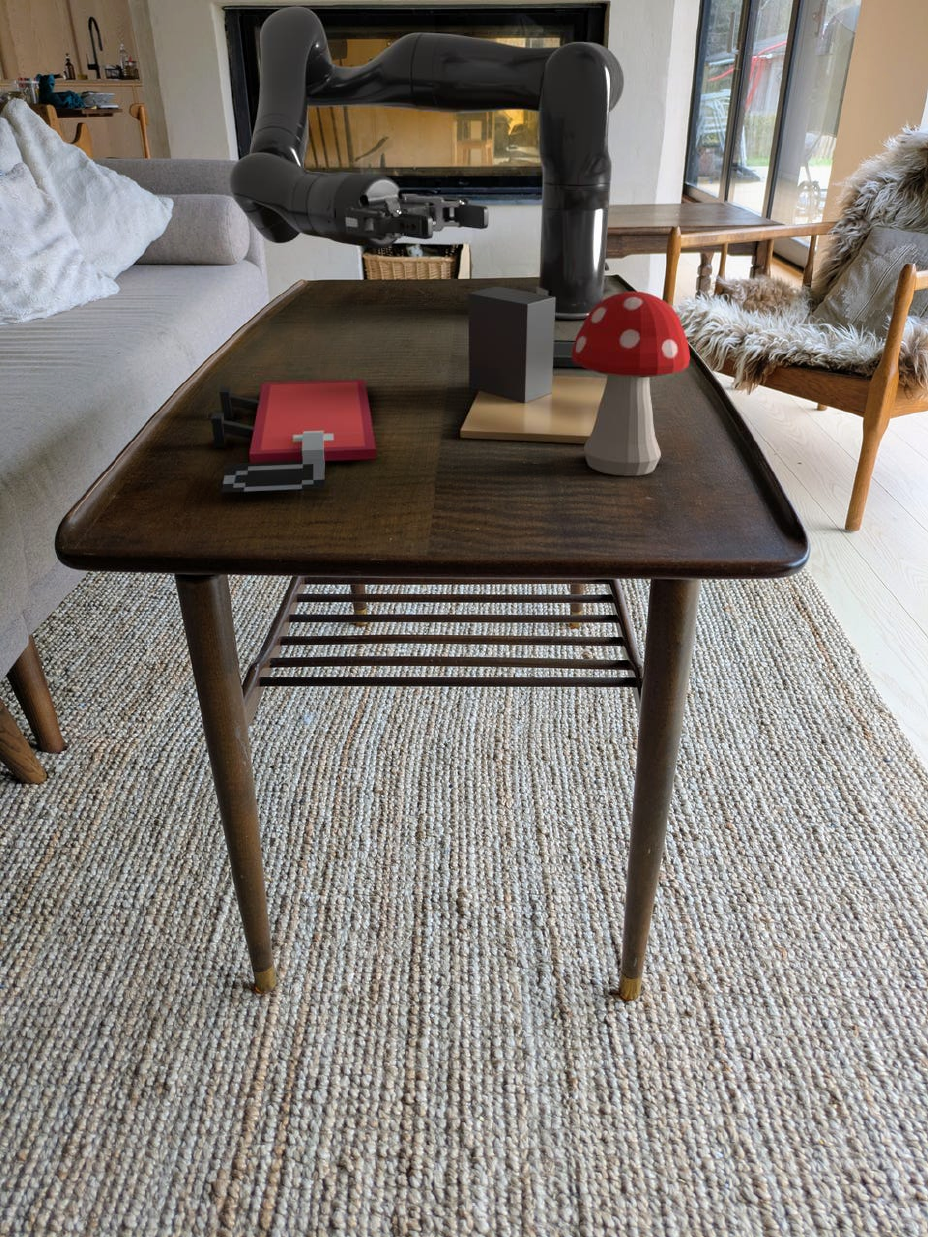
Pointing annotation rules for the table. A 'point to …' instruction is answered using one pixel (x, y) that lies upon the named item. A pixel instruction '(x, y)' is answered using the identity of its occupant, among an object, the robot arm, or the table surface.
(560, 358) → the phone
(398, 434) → the table surface
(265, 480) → the red board with handle
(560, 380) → the wooden board
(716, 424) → the table surface
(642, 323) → the decorative mushroom
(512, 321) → the tall charcoal box
